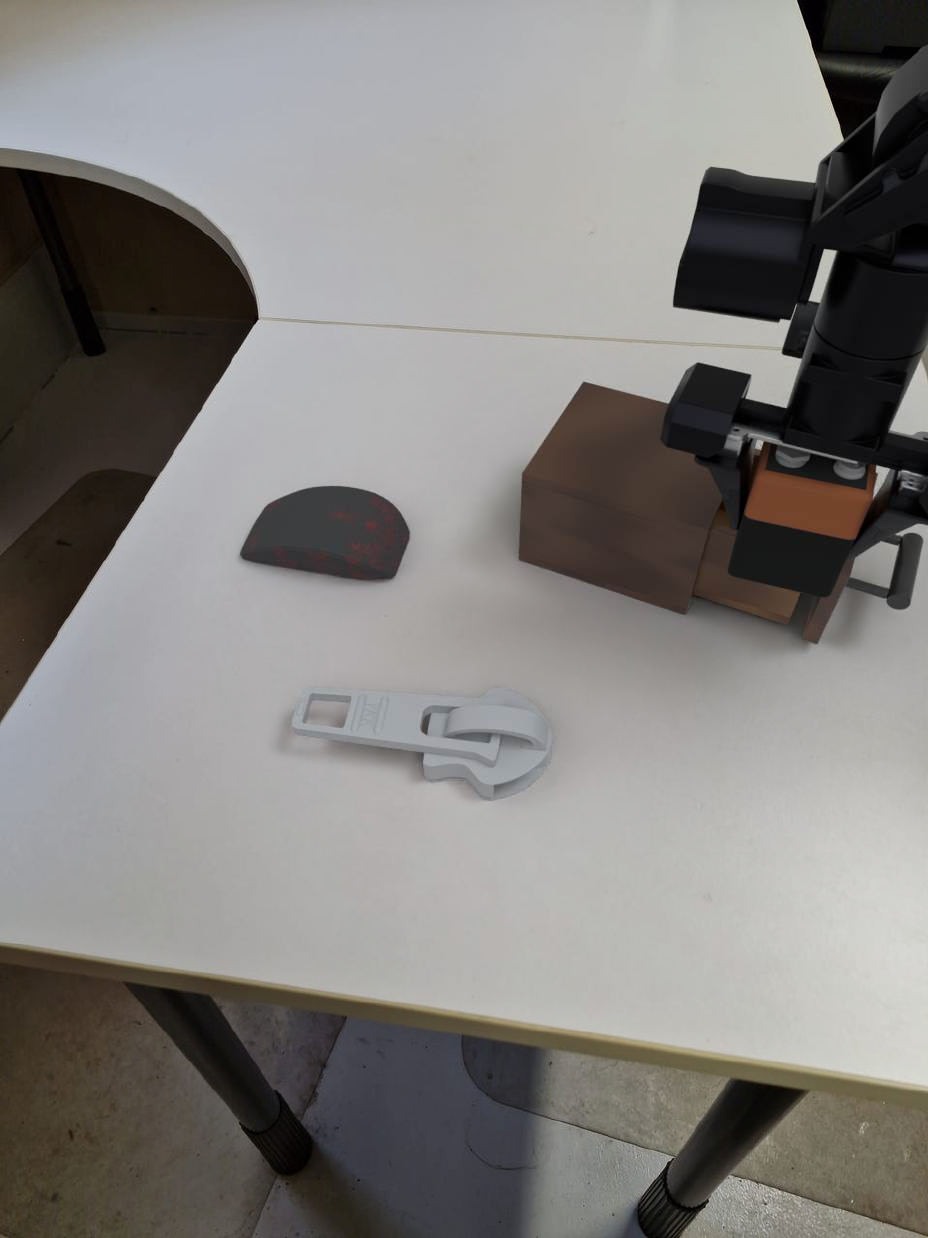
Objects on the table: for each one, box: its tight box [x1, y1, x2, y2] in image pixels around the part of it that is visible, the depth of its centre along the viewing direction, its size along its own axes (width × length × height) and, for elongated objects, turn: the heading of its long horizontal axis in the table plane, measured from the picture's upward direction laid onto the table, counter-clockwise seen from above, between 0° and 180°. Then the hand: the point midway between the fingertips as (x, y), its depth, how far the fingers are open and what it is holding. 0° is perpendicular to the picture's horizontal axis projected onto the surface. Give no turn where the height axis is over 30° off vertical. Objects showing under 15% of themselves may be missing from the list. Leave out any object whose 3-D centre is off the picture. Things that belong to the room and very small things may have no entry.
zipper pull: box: [291, 686, 554, 801], centre depth 60 cm, size 8×18×4 cm, turn 82°
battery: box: [728, 441, 878, 598], centre depth 55 cm, size 4×7×10 cm, turn 69°
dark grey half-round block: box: [239, 485, 411, 580], centre depth 73 cm, size 8×14×4 cm, turn 77°
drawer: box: [692, 447, 924, 645], centre depth 67 cm, size 18×12×8 cm, turn 64°
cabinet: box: [518, 381, 723, 616], centre depth 71 cm, size 15×13×10 cm
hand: (790, 541), depth 57 cm, fingers closed on battery, 7 cm apart
